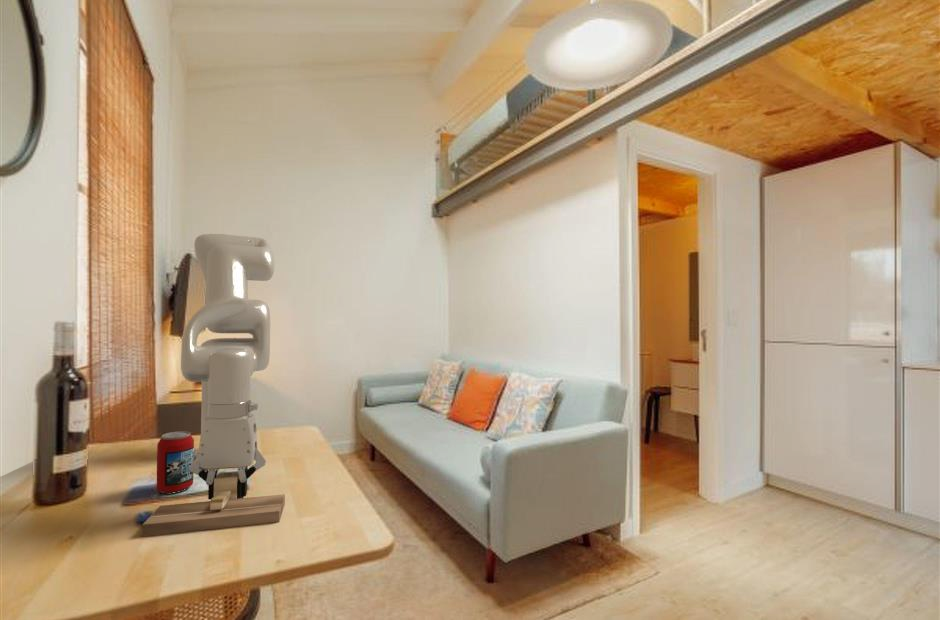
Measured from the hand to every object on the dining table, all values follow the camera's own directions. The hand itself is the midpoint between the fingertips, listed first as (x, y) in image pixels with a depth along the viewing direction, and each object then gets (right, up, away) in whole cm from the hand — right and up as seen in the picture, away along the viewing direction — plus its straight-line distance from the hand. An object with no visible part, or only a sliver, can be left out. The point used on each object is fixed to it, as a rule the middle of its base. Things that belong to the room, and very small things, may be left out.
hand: (227, 500), depth 90 cm
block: (+1, -1, -3) cm, 3 cm away
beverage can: (-16, -1, +8) cm, 17 cm away
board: (+2, -1, -6) cm, 7 cm away
